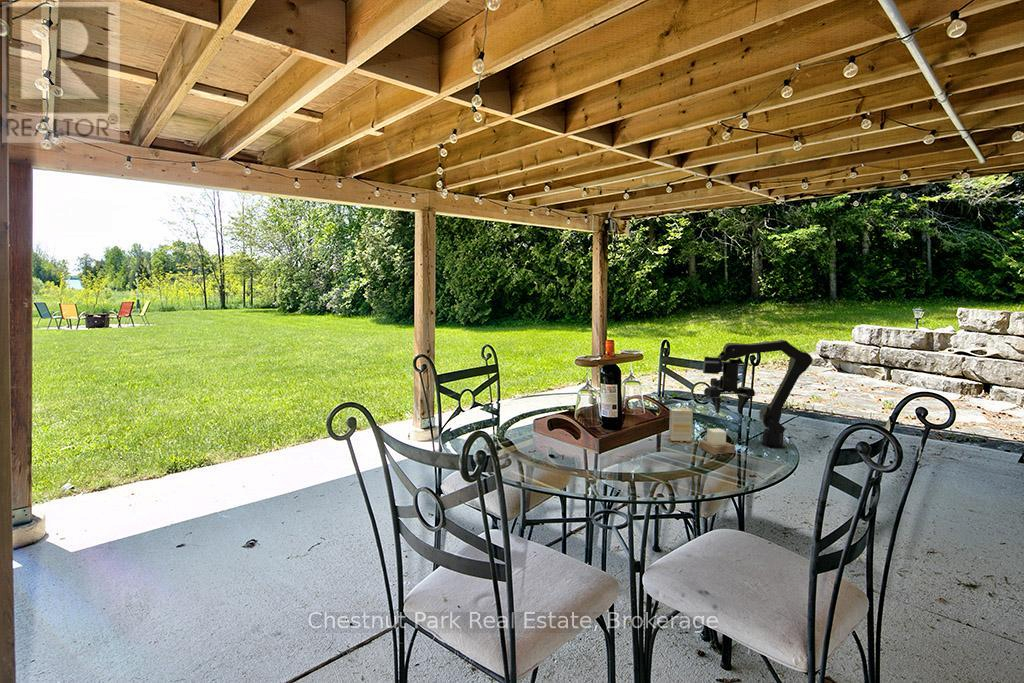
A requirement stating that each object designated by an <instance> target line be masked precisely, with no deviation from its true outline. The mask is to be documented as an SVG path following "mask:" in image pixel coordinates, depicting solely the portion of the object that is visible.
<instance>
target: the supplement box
mask: <svg viewBox="0 0 1024 683" xmlns="http://www.w3.org/2000/svg"><path fill="white" fill-rule="evenodd" d="M693 414H694V411H693V410H692V409H691V408H690V407H688V408H687V407H685V408H684V407H669V425H668V426H669V428H668V439H669V440H670V442H671V441H680V442H679V443H684V442H683V441H686V442H685V443H692V442H693V441H692V440H693V418H694V416H693Z"/></svg>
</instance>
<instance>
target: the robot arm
mask: <svg viewBox="0 0 1024 683" xmlns="http://www.w3.org/2000/svg"><path fill="white" fill-rule="evenodd" d="M769 352H770V353H771V352H783V354H785V355H786V356H788V357H789V361H788V367H787V371H786V373H785V375H784V377H783V379H782V381H781V383H780V384H779V386H778V388H777V390H776V391H775V394H774V395H773V397H772V399H771V401H770V402H769V403H768V404H767V405H766V404H762V407H761V409H760V411H758V414H759V416H758V417H759V420H760V422H761V423H762V424H763V425H764V427H765V428H764V429H763V432H762V441H760V444H762V445H764V446H766V447H768V448H771V449H772V448H774V449H777V448H786V445H784V432H785V431H786V428H785V426H784V425H782V424H781V422H780V421H781V417H782V412H783V407H784V405H785V403H786V401H787V400H788V398H789V396H790V394H791V393H792V390H793V389H794V386H795V385H796V383H797V381H798V379H799V377H801V375H803V373H804V372H806V371H807V369H809V367H810V366H811V365H812V362H813V358H812V356H811V354H809V353H808V352H805V351H803V350H799V349H798V348H796V347H795V346H793V345H792V344H791V343H790V342H789V341H788V340H785V339H779V340H771V341H763V342H755V343H739V342H728V343H726V344H724V346H723V348H722V351H721V352H720V353H719V354H718V356H717V357H716V356H715V357H713V356H712V357H711V356H704V357H703V358H704V359H703V363H702V373H703V374H706V375H709V374H711V375H719V374H720V373H722V375H720V377H719V378H720V379H718V378H717V377H714V378H713V377H712V378H711V379H710V386H711V387H706V388H704V390H703V394H704V395H705V396H706V397H708V398H710V399H711V401H712V404H713V407H714V409H715V412H716V414H719V413H720V408H721V402H722V397H721V395H737V399H738V401H737V402H738V403H737V413H738V414H740V413H741V412H742V410H743V409H744V407H745V406H746V404H747V403H748V402H749V400H750V399H752V397H755V396H756V391H755V389H754V388H752V387H748V386H739V381H741V378H740V377H739V368H740V365H745V362H744V361H743V360H742V357H745V356H747V355H752V354H760V353H761V354H763V353H769ZM738 386H739V387H738Z"/></svg>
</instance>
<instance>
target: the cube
mask: <svg viewBox="0 0 1024 683" xmlns="http://www.w3.org/2000/svg"><path fill="white" fill-rule="evenodd" d="M706 430H707V431H706V440H707V442H708V443H710V444H712V445H726V442H727V431H725V430H723V429H721V428H707V429H706Z"/></svg>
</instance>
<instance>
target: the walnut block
mask: <svg viewBox="0 0 1024 683" xmlns="http://www.w3.org/2000/svg"><path fill="white" fill-rule="evenodd" d="M698 442H699V443H698V449H700V448H701V449H700V450H702V449H703V450H702V451H704V450H705V451H704V452H706V451H707V452H706V453H708V452H709V453H708V454H710V453H711V454H710V455H712V454H713V455H712V456H714V455H715V456H718V455H717V454H726V453H735V452H736V449H735V448H736V445H734V444H731V443H729V442H727V441H726V445H712V444H710V443H708V442H707V439H703V440H699V441H698ZM726 455H727V454H726Z"/></svg>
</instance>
